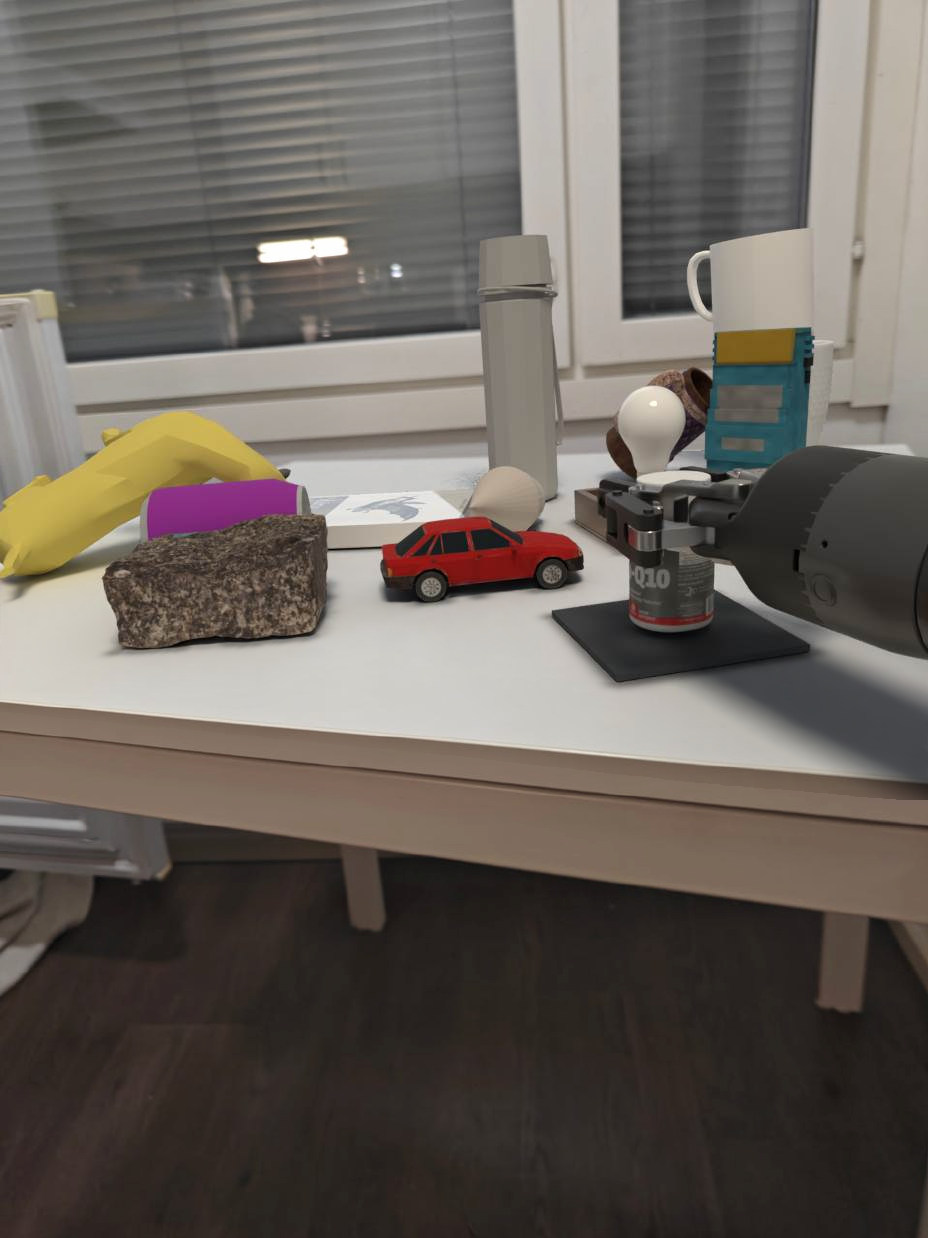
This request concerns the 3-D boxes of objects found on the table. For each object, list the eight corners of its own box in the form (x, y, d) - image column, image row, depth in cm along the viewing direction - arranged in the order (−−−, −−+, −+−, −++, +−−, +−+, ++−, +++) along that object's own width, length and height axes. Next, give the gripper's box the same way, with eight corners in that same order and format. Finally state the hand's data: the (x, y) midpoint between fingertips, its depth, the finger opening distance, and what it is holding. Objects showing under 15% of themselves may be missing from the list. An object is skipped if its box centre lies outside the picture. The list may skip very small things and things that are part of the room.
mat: (711, 593, 55) (711, 587, 55) (810, 651, 45) (811, 644, 45) (551, 616, 53) (551, 610, 53) (617, 682, 43) (617, 675, 43)
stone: (321, 636, 53) (306, 545, 51) (110, 656, 53) (87, 565, 51) (339, 583, 63) (328, 505, 61) (163, 599, 63) (146, 522, 61)
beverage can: (165, 605, 67) (316, 592, 67) (131, 550, 60) (299, 536, 61) (172, 528, 71) (315, 516, 71) (141, 467, 64) (299, 455, 65)
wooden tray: (692, 508, 79) (693, 476, 78) (759, 535, 68) (760, 498, 67) (574, 522, 77) (573, 489, 76) (624, 553, 66) (623, 515, 65)
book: (208, 553, 75) (204, 531, 74) (261, 517, 88) (258, 499, 87) (463, 543, 72) (461, 520, 71) (480, 507, 85) (479, 488, 84)
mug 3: (706, 456, 103) (709, 344, 99) (799, 451, 102) (806, 337, 98) (732, 478, 89) (736, 349, 85) (840, 472, 88) (850, 341, 84)
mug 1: (638, 439, 98) (720, 372, 90) (655, 489, 95) (742, 424, 87) (576, 414, 91) (659, 340, 83) (593, 467, 88) (680, 395, 80)
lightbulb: (613, 507, 81) (611, 390, 78) (623, 494, 87) (622, 384, 83) (681, 507, 79) (682, 387, 75) (687, 494, 85) (689, 380, 81)
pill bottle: (613, 618, 50) (610, 477, 47) (675, 602, 52) (676, 465, 49) (665, 640, 46) (666, 488, 43) (731, 622, 48) (735, 474, 45)
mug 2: (818, 333, 91) (818, 230, 88) (808, 339, 83) (807, 225, 80) (700, 347, 97) (696, 251, 94) (680, 354, 89) (674, 249, 85)
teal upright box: (808, 489, 82) (819, 326, 77) (788, 497, 79) (797, 329, 74) (718, 481, 89) (723, 330, 84) (697, 488, 86) (700, 333, 81)
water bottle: (522, 509, 83) (508, 233, 75) (474, 500, 89) (457, 244, 81) (589, 493, 88) (583, 233, 80) (539, 485, 94) (529, 243, 86)
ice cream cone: (463, 450, 64) (523, 451, 78) (418, 512, 67) (484, 503, 80) (522, 502, 63) (572, 494, 77) (475, 563, 66) (532, 544, 79)
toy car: (591, 586, 59) (589, 515, 57) (384, 608, 57) (377, 537, 56) (568, 562, 65) (566, 498, 63) (381, 582, 63) (374, 517, 62)
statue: (20, 661, 76) (120, 673, 62) (-81, 542, 70) (5, 527, 57) (228, 502, 91) (346, 483, 78) (159, 394, 86) (273, 353, 72)
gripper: (1020, 433, 35) (745, 411, 50) (741, 480, 30) (530, 439, 45) (997, 604, 37) (741, 534, 53) (735, 672, 33) (536, 573, 48)
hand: (644, 490), depth 49 cm, fingers closed on pill bottle, 4 cm apart
